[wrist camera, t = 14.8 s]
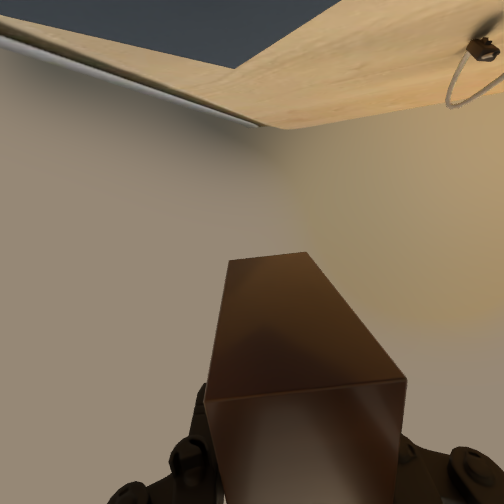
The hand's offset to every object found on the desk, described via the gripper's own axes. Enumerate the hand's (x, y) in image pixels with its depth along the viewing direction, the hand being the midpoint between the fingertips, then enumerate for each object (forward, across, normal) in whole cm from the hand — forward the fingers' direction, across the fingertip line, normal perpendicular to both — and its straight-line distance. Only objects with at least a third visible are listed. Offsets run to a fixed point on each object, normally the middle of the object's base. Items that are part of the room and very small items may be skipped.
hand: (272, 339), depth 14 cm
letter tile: (-5, 0, +6) cm, 8 cm away
